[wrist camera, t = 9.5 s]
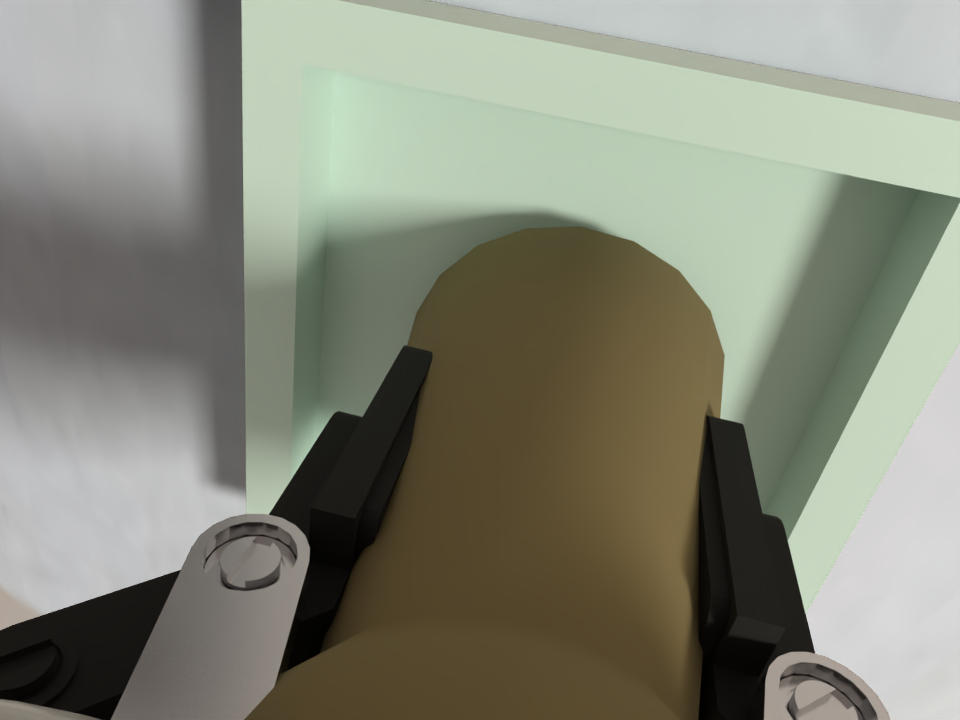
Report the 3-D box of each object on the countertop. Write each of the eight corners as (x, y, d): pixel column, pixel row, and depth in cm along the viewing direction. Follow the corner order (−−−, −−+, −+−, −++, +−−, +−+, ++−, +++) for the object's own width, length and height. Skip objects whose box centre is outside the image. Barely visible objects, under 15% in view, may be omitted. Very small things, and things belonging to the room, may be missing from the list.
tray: (1007, 112, 12) (1072, 143, 10) (752, 612, 18) (764, 687, 16) (295, -25, 13) (240, -19, 11) (283, 495, 19) (246, 553, 17)
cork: (549, 152, 12) (253, 868, 3) (797, 378, 13) (1169, 1416, 4) (351, 373, 15) (-117, 1086, 6) (569, 543, 16) (474, 1368, 7)
